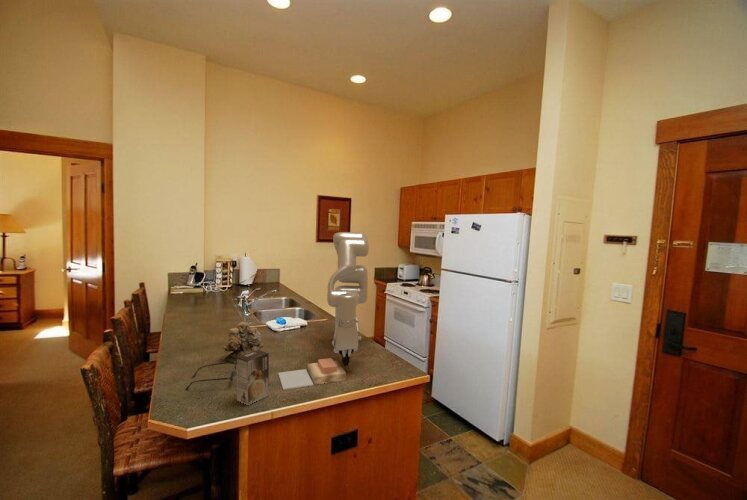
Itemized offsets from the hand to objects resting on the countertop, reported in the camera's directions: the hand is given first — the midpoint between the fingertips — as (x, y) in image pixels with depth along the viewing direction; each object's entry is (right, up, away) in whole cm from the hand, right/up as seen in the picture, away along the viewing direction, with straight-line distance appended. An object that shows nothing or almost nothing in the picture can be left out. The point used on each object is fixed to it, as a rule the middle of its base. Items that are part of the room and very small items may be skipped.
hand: (345, 364), depth 144 cm
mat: (-20, -3, -8) cm, 21 cm away
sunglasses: (-52, -3, -12) cm, 53 cm away
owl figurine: (-49, -1, +12) cm, 50 cm away
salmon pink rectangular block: (-7, +1, -3) cm, 8 cm away
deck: (-8, -3, -3) cm, 9 cm away
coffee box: (-31, -4, -24) cm, 40 cm away
